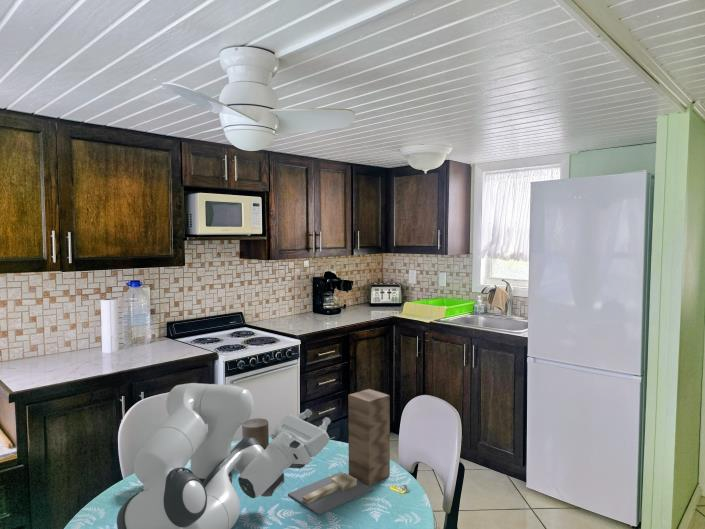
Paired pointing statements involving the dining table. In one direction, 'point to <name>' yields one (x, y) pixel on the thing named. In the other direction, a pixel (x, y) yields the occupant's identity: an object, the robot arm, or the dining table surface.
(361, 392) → the walnut stand
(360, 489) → the rubber mat
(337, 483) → the beech spatula
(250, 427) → the pillar candle
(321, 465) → the dining table surface
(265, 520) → the dining table surface
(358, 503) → the dining table surface
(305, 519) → the dining table surface
